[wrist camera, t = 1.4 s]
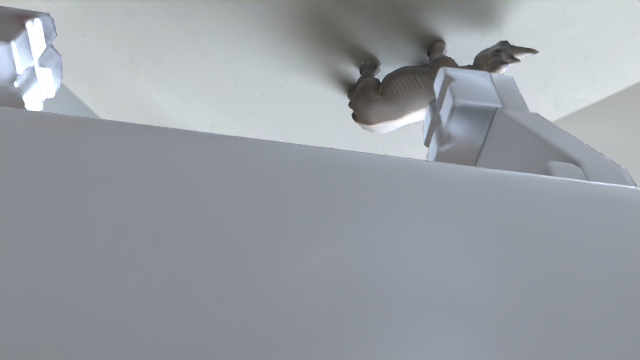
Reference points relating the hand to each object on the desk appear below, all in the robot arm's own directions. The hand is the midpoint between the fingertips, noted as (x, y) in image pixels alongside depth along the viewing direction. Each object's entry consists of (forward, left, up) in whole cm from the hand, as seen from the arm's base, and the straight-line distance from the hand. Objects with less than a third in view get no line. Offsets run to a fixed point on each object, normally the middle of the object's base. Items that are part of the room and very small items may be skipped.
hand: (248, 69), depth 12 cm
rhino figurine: (+13, +11, -28) cm, 32 cm away
